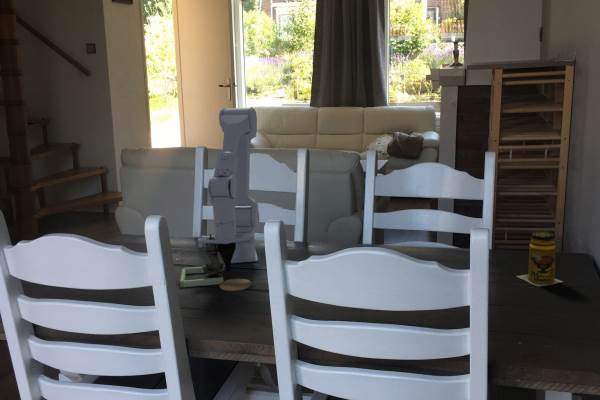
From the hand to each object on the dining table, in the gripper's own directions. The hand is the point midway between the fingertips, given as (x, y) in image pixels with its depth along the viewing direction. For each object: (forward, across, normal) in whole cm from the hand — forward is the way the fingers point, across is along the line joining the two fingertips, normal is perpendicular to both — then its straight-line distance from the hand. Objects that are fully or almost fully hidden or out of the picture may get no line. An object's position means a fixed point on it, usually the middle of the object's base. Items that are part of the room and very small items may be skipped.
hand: (228, 270), depth 163 cm
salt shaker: (+2, -4, 0) cm, 4 cm away
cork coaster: (+2, +2, -8) cm, 8 cm away
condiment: (+2, +77, -22) cm, 80 cm away
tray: (+2, -6, 0) cm, 7 cm away
